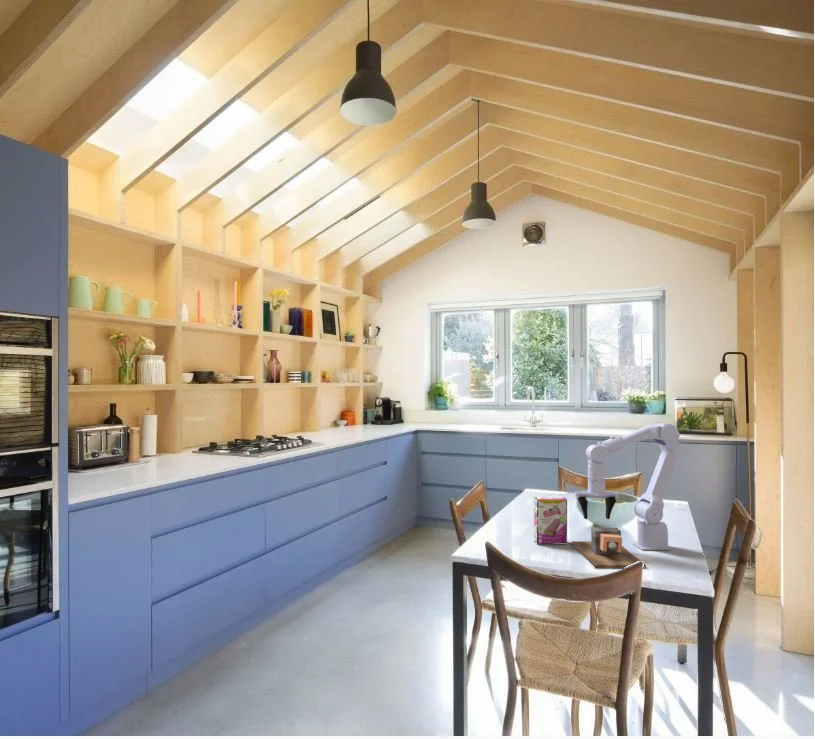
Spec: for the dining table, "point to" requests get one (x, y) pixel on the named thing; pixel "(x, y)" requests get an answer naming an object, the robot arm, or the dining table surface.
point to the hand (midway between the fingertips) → (596, 518)
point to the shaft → (609, 543)
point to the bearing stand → (604, 557)
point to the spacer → (610, 538)
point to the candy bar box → (550, 520)
